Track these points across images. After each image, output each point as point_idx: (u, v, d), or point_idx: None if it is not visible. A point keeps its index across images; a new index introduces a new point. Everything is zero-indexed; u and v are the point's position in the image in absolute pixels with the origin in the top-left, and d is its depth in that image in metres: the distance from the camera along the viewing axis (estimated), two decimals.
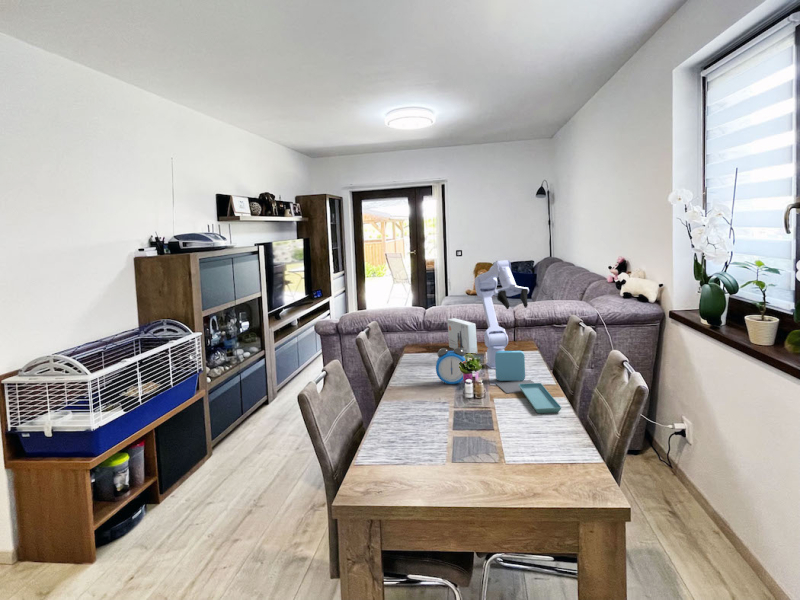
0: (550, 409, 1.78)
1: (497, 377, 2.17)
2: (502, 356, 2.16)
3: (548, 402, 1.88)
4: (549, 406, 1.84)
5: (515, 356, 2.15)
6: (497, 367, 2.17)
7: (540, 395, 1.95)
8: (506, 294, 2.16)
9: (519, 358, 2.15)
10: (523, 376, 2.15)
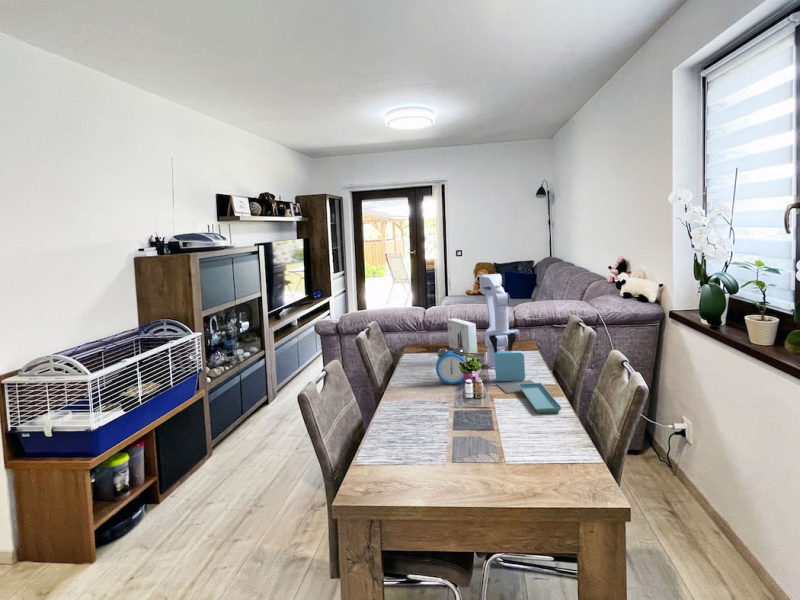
0: (550, 409, 1.78)
1: (497, 378, 2.17)
2: (502, 357, 2.16)
3: (548, 402, 1.88)
4: (549, 406, 1.84)
5: (515, 357, 2.15)
6: (497, 368, 2.17)
7: (540, 395, 1.95)
8: None
9: (519, 358, 2.15)
10: (523, 376, 2.15)
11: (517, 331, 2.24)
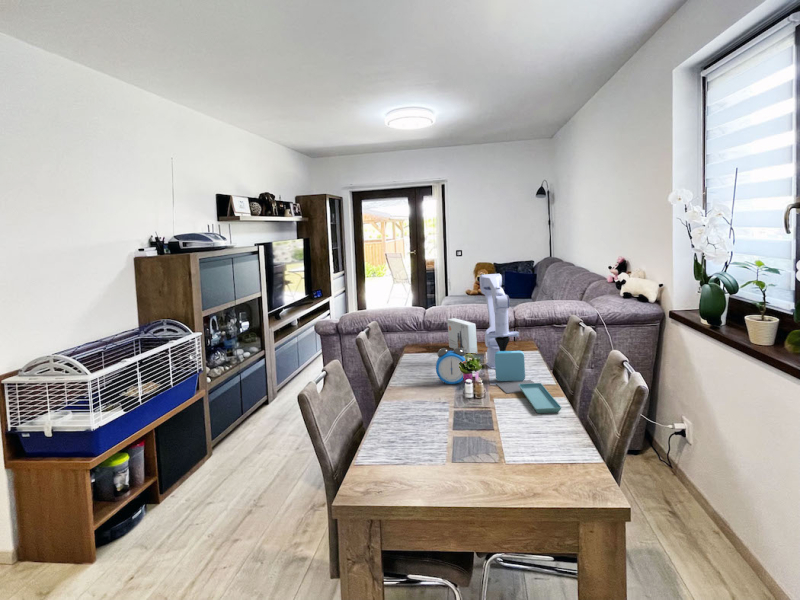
0: (550, 409, 1.78)
1: (497, 378, 2.17)
2: (502, 357, 2.16)
3: (548, 402, 1.88)
4: (549, 406, 1.84)
5: (515, 357, 2.15)
6: (497, 368, 2.17)
7: (540, 395, 1.95)
8: None
9: (519, 358, 2.15)
10: (523, 376, 2.15)
11: (517, 333, 2.25)
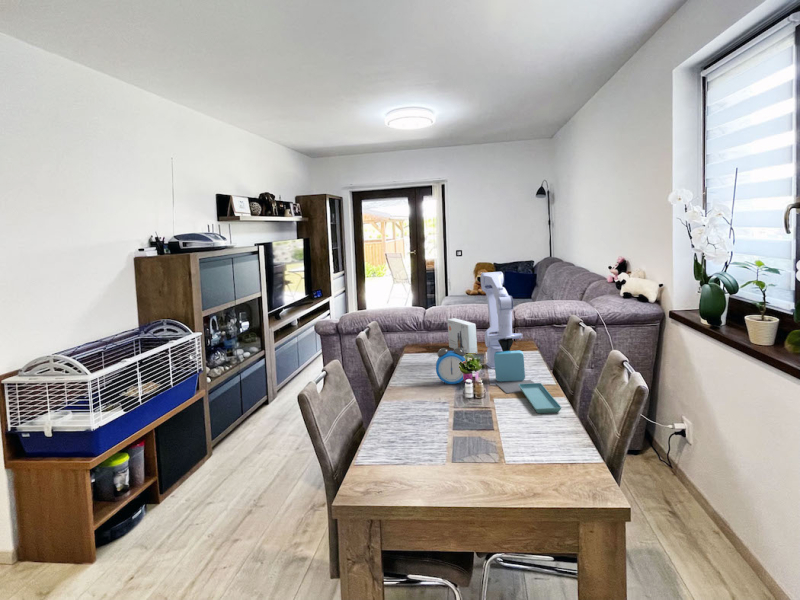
0: (550, 409, 1.78)
1: (497, 378, 2.17)
2: (501, 357, 2.16)
3: (548, 402, 1.88)
4: (549, 406, 1.84)
5: (514, 357, 2.15)
6: (497, 368, 2.17)
7: (540, 395, 1.95)
8: None
9: (518, 359, 2.14)
10: (523, 376, 2.15)
11: (521, 335, 2.21)
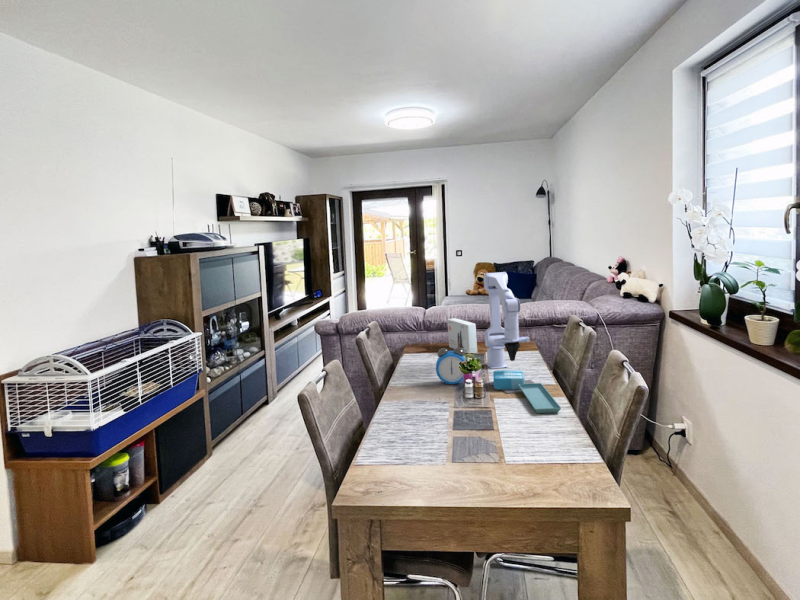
0: (549, 409, 1.78)
1: None
2: None
3: (548, 402, 1.87)
4: (548, 406, 1.84)
5: None
6: None
7: (540, 395, 1.95)
8: None
9: None
10: None
11: (527, 338, 2.13)
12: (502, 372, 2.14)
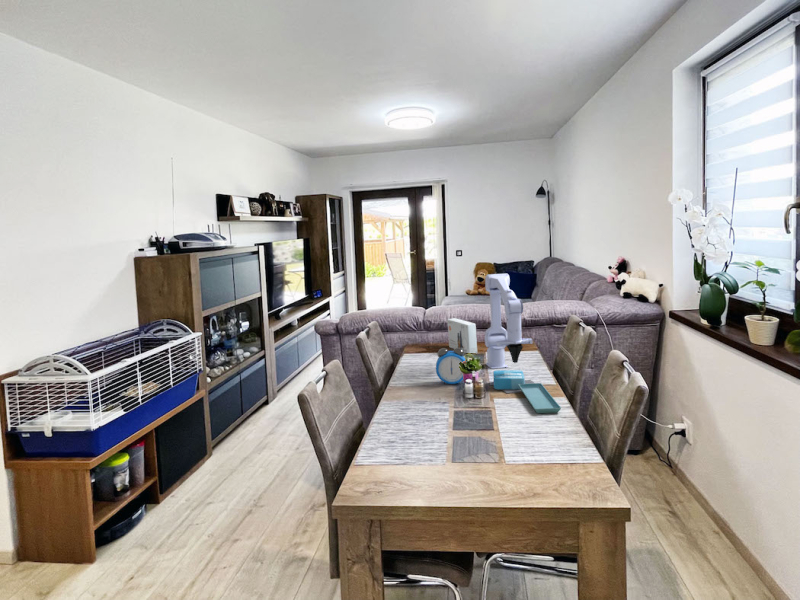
0: (549, 409, 1.78)
1: None
2: None
3: (548, 402, 1.87)
4: (548, 406, 1.84)
5: None
6: None
7: (540, 395, 1.95)
8: None
9: None
10: None
11: (530, 340, 2.10)
12: (502, 372, 2.14)
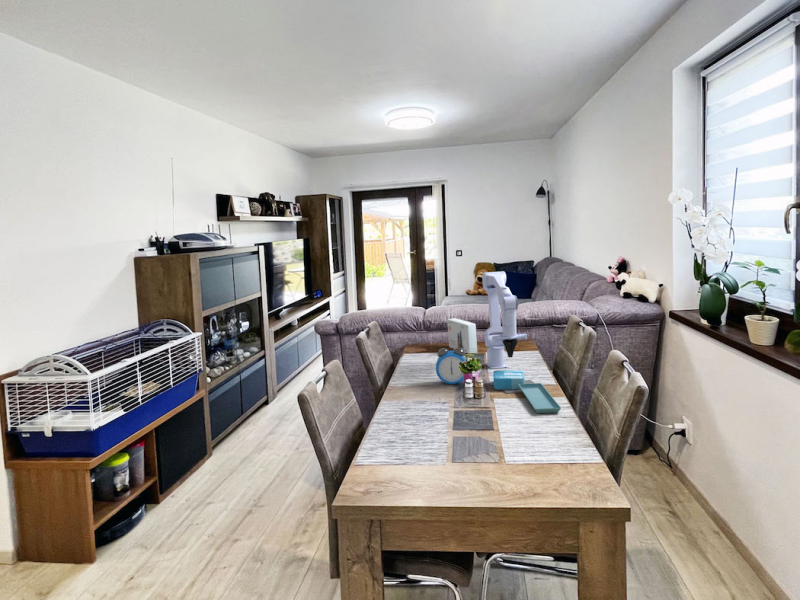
0: (549, 409, 1.78)
1: None
2: None
3: (548, 402, 1.87)
4: (548, 406, 1.84)
5: None
6: None
7: (540, 395, 1.95)
8: None
9: None
10: None
11: (525, 335, 2.16)
12: (502, 372, 2.14)
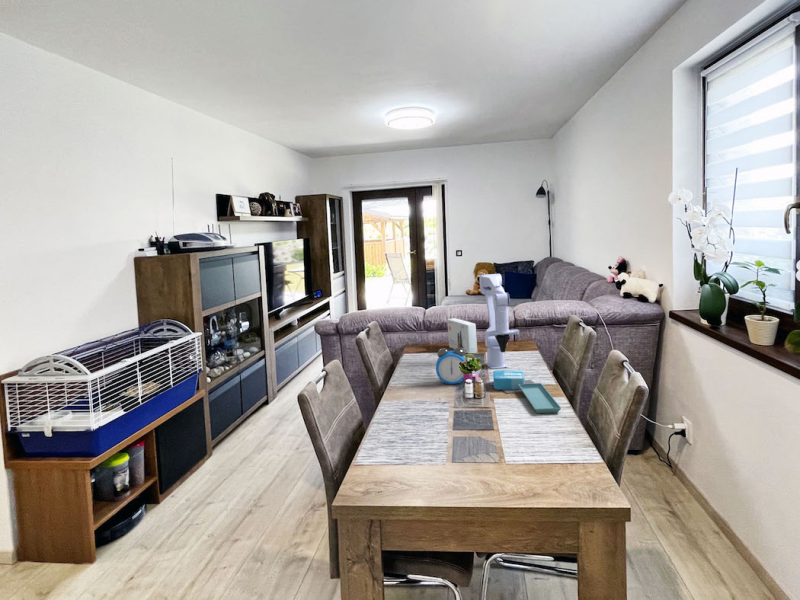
0: (549, 409, 1.78)
1: None
2: None
3: (548, 402, 1.87)
4: (548, 406, 1.84)
5: None
6: None
7: (540, 395, 1.95)
8: None
9: None
10: None
11: (517, 331, 2.24)
12: (502, 372, 2.14)
